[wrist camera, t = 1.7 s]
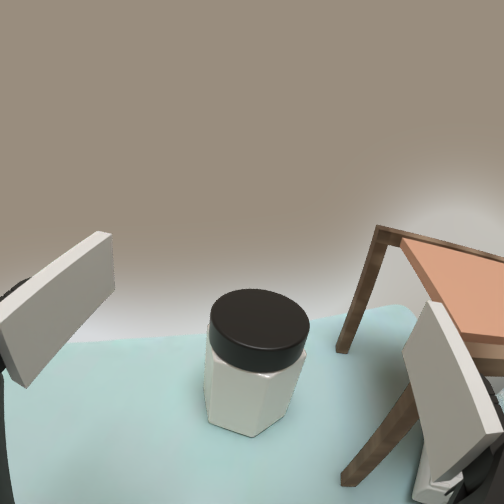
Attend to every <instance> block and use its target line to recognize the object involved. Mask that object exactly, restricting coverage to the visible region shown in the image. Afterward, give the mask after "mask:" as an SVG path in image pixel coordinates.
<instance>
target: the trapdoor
mask: <svg viewBox="0 0 504 504" xmlns="http://www.w3.org/2000/svg"><path fill="white" fill-rule="evenodd" d="M400 248H401V249H402V251H403V252H404V254H405V255H406V257H407V259H408V260H409V262H410V264H411V265H412V267H413V269H414V270H415V272H416V274H417V275H418V277H419V279H420V280H421V282H422V284H423V286H424V287H425V289H426V291H427V292H428V294H429V296H430V298H431V300H432V301H434V302H439V303H442V304H443V306H444V308H445V309H446V311H447V313H448V315H449V316H450V318H451V320H452V322H453V324H454V325H455V327H456V329H457V331H458V333H459V335H460V336H461V338H462V340H463V341H464V342H474V343H484V344H495V345H504V263H500V262H496V261H493V260H489V259H485V258H482V257H478V256H474V255H471V254H467V253H463V252H459V251H455V250H451V249H447V248H443V247H439V246H435V245H431V244H427V243H423V242H419V241H415V240H411V239H406V238H402V240H401V243H400Z"/></svg>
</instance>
